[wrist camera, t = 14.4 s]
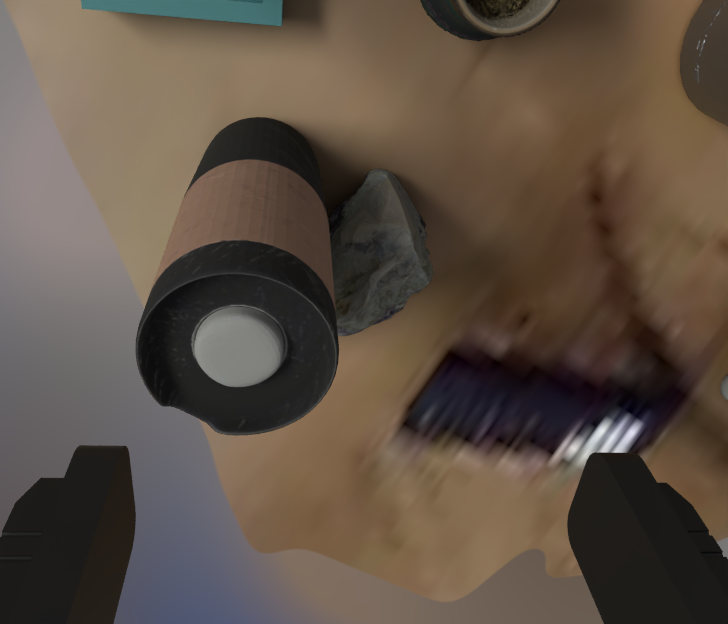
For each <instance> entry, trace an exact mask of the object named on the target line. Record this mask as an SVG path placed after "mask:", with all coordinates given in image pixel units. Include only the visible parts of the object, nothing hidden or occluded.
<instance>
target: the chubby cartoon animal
mask: <svg viewBox="0 0 728 624" xmlns="http://www.w3.org/2000/svg"><path fill="white" fill-rule="evenodd" d="M721 393H722V395H723V397H724V398H725V399H726V400H728V375H727V376H726V377H725V378H724V379H723V381H722V383H721Z"/></svg>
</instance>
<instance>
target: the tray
mask: <svg viewBox="0 0 728 624" xmlns="http://www.w3.org/2000/svg"><path fill="white" fill-rule="evenodd" d="M81 4H82V9H92V10H103V11H115V12H126V13H138V14H149V15H160V16H172V17H183V18H195V19H206V20H217V21H229V22H240V23H252V24H263V25H274V26H282V17H283V0H81Z"/></svg>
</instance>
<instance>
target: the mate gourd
mask: <svg viewBox="0 0 728 624" xmlns="http://www.w3.org/2000/svg"><path fill="white" fill-rule="evenodd" d="M420 1H421V3H422V6H423V8H424V10H425V11H426V12H427V15H429V16H430V17H431V18H432V19H433V21H434V22H435V23H436V24H437V25H438V26H439V27H441V28H443V29H444V30H445V31H448V32H450V33H451V34H452V35H455V36H457V37H459V38H463V39H464V40H465V39H468V40H474V41H481V40H490V39H494V38H498V37H510V36H515V35H520V34H521V33H525V32H527V31H530V30H532V29H533V28H534V27H536V26H538V25H540V24H541V23H542V22H543V21H545V20H546V18H547V17H549V16H550V14H551V13H552V12H553V10H554V9H555V8H556V6H557V4H558V3H559V1H560V0H420Z"/></svg>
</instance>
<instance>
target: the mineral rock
mask: <svg viewBox="0 0 728 624" xmlns="http://www.w3.org/2000/svg"><path fill="white" fill-rule="evenodd" d="M328 223H329V233H330V246H331V258H332V270H333V283H334V295H335V307H336V320H337V332H338V336H348V335H352V334H355V333H358V332H360V331H362V330H363V329H365V328H367V327H369V326H371V325H374V324H377V323H380V322H382V321H384V320H387V319H389V318H391V317H392V315H394V314H396V313H397V312H399V311H400V310H402V309H403V307H404V306H405V304H406V302H407V300H408V298H409V296H410V295H412V294H415V293H419V292H420V291H421V290H422V289H423V288H424V287H426V286H427V285H428V284H429V283H430V281H431V279H432V275H433V268H432V265H431V263H430V261H429V254H430V253H429V250H428V249H426V248H425V246H424V243H425V239H426V237H427V233H426V231H425V226H426V224H425V222H424V221H423V219H422V218H421V217H420V215H419V214H418V212H417V210H416V209H415V207H414V205H413V203H412V201H411V199H410V197H409V195H408V194H407V192H406V191H405V190H404V188H403V187H402V185H401V184H400V182H399V181H398V180H397V178H396V177H395V176H394V175H393V174H392V173H390V172H389V171H387V170H383V169H374V170H371V171H370V172H369V173H368V174H367V175H366V179H365V181H364V184H363V185H362V186H361V188H359V189H358V190H357V192H356V194H355V195H354V196H352V197H351V198H350V199H348V200H345V202H344V203H342V204H340V205H338V206H337V207H336V209H335V210H334V211H333V213H332V215H331V216H330V218H329V220H328Z"/></svg>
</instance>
